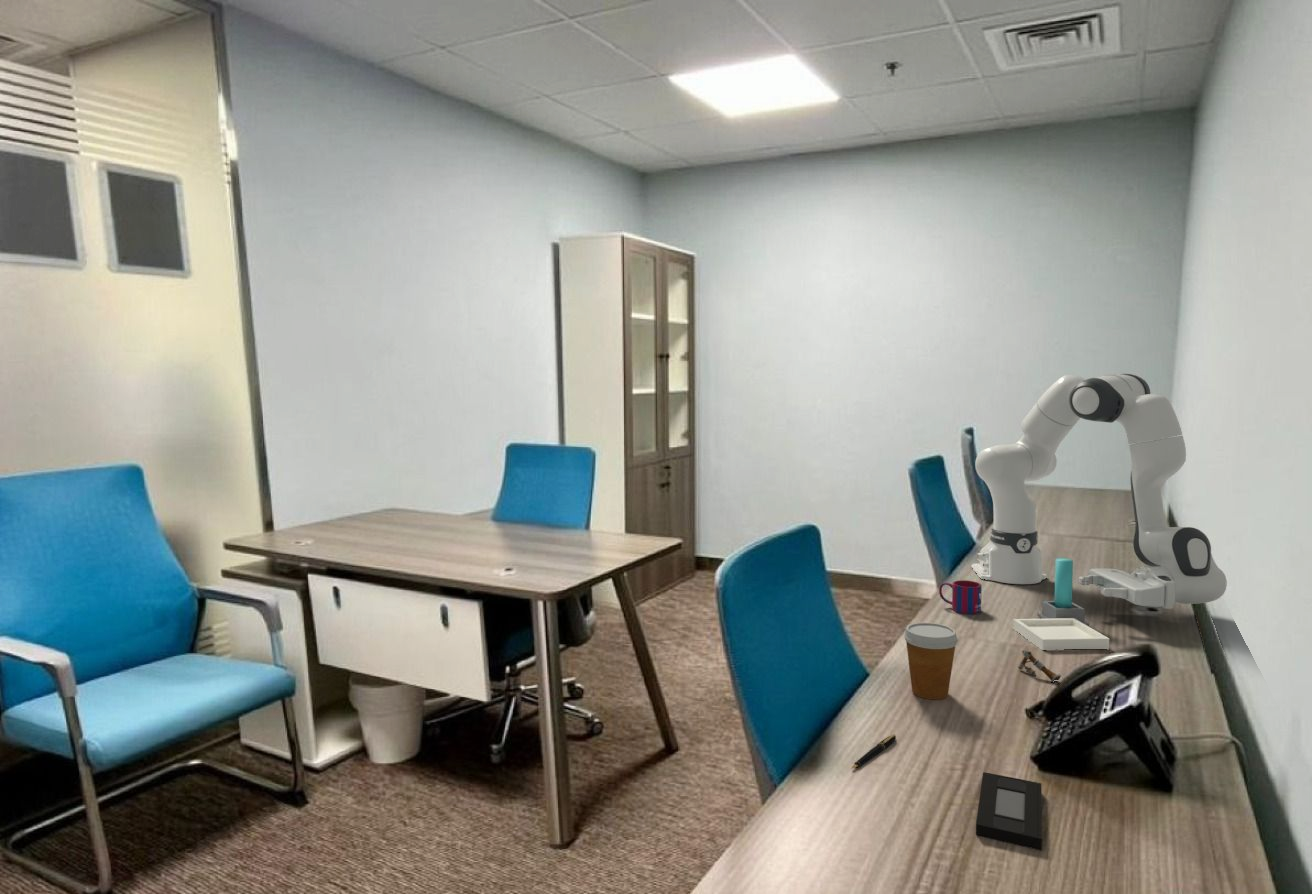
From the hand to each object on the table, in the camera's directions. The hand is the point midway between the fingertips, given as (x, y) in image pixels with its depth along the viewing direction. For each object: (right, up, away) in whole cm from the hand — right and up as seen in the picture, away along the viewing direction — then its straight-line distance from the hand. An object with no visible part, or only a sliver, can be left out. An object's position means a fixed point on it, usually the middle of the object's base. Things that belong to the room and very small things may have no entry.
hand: (1090, 586), depth 179 cm
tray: (-14, -10, -11) cm, 20 cm away
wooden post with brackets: (-29, -12, -32) cm, 45 cm away
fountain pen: (-69, -15, -61) cm, 93 cm away
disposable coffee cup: (-52, -13, -38) cm, 66 cm away
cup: (-26, -8, +12) cm, 30 cm away
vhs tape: (-55, -17, -78) cm, 97 cm away
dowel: (-6, -8, +1) cm, 10 cm away
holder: (-6, -8, +1) cm, 11 cm away
